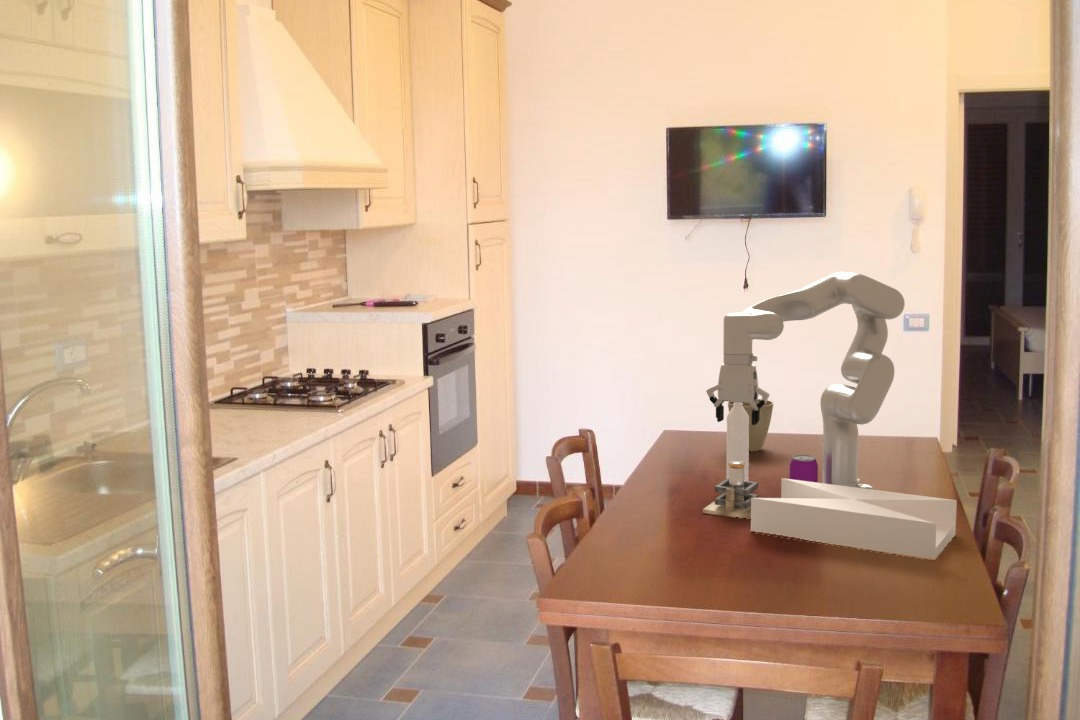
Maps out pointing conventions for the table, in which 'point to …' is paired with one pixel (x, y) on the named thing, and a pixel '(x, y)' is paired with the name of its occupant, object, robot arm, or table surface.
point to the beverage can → (804, 468)
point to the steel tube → (736, 478)
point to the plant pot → (761, 428)
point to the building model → (857, 518)
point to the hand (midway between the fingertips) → (737, 422)
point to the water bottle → (738, 437)
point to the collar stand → (732, 500)
